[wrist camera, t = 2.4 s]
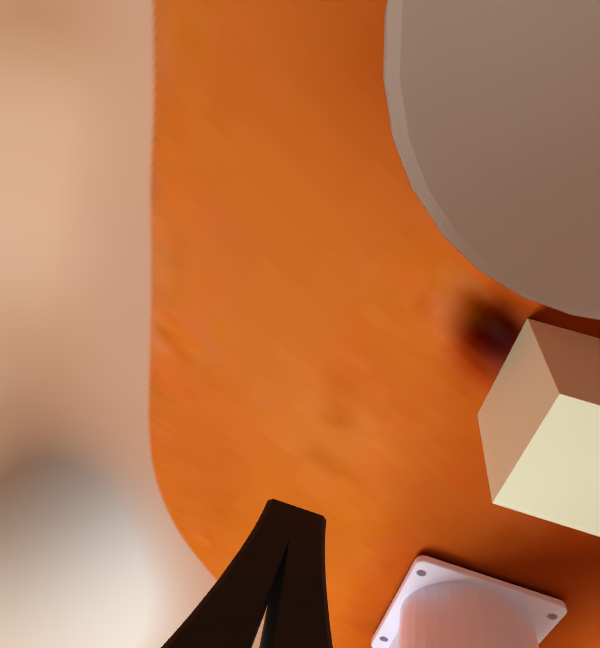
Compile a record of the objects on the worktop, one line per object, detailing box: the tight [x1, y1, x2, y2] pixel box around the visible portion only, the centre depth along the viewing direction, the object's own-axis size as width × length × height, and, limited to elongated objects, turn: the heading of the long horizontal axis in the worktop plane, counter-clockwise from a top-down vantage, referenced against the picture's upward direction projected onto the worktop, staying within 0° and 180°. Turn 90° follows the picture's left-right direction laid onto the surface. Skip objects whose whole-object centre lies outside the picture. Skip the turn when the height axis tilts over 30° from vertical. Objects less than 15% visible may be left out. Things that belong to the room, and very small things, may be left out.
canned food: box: [383, 0, 600, 320], centre depth 10 cm, size 8×8×11 cm
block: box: [478, 318, 600, 537], centre depth 17 cm, size 5×5×5 cm
